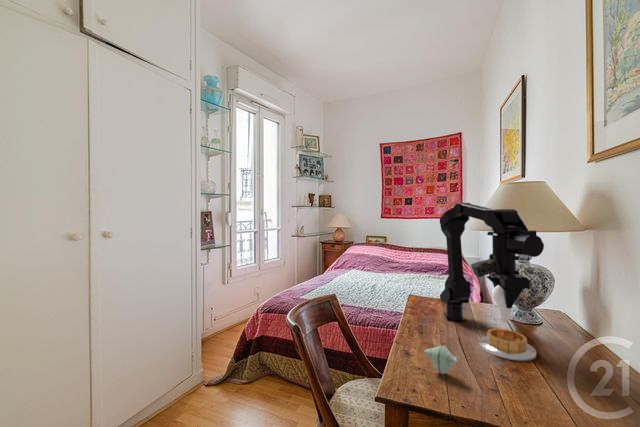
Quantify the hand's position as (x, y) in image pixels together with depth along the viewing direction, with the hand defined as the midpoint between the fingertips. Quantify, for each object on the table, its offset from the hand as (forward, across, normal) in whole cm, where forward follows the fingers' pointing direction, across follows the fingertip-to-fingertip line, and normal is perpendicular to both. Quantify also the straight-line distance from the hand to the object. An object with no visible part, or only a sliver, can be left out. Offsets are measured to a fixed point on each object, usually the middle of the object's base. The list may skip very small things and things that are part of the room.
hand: (504, 304), depth 84 cm
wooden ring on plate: (+13, 0, 0) cm, 13 cm away
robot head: (+13, +17, -20) cm, 30 cm away
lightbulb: (+5, 0, 0) cm, 5 cm away
